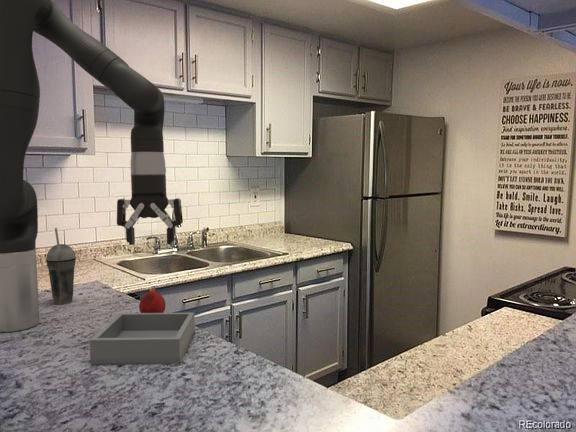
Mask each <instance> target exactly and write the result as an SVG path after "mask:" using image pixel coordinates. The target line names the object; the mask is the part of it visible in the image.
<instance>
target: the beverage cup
mask: <svg viewBox="0 0 576 432" xmlns="http://www.w3.org/2000/svg"><path fill="white" fill-rule="evenodd" d="M54 231H55V232H54V233H55V234H54V235H55V239H56V244H55V245H53V246H51V248H50V249H48V251H47V254H46V258H45V263H46V266H47V269H48V274H49V276H48V277H49V282H50V290H51V295H52V301H53V305H57V306H58V305H60V306H62V305H67V304H72V303H73V297H74V284H75V283H74V282H75V280H74V279H75V266H76V260H77V257H76V252H75V251H74V249H73V248H72V247H71V246H69V245H67V244H65V243H64V244H63V243H61V244H60V238H59V233H58V227H55V228H54Z"/></svg>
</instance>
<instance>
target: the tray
mask: <svg viewBox="0 0 576 432" xmlns="http://www.w3.org/2000/svg"><path fill="white" fill-rule="evenodd" d="M195 325H196V322H195V312H164V313H141V312H122V313H121V312H119V313H118V314H117V315H115V316H114V317H113V318H112V319H111V320H110V321H109V322H108V323H107V324H106V325H104V326H103V328H101V329H100V330H99V331H98V332H97V333H96V334H95V335H93V337H91V338H90V340H89V353H90V354H89V355H90V356H89V357H90V365H131V364H132V365H135V364H136V365H137V364H139V365H140V364H142V365H143V364H148V365H149V364H151V365H153V364H155V365H157V364H181V362H182V360H183V358H184V356H185V354H186V352H187V350H188V348H189V346H190V343H191V341H192V339H193V337H194V335H195V333H196V331H195V330H196V327H195Z"/></svg>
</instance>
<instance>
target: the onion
mask: <svg viewBox="0 0 576 432" xmlns="http://www.w3.org/2000/svg"><path fill="white" fill-rule="evenodd" d="M156 290H157V289H156V288H155V287H154V286H153V287H150V289H149V291H148V292H146V293H145V294H144V295H143V296H142V297H141V300H140V301H139V304H138V307H139V308H138V309H139V313H165V311H166V300H165V299H164V296H162V295H161V294H160V293H159V292H158V291H156Z"/></svg>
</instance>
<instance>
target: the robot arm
mask: <svg viewBox="0 0 576 432" xmlns="http://www.w3.org/2000/svg"><path fill="white" fill-rule="evenodd" d="M33 33H36V34H37V35H39V36H42V37H43V38H45V39H46V40H48V41H49V42H51V43H52V44H54V45H55V46H57V47H58V48H60V50H62V51H63V52H64V53H65V54H67V55H68V56H69V57H70V58H71V59H72V61H74V62H75V63H76V64H77V65H78V66H79V67H80V68H82V70H84V71H85V72H86V73H87V74H88V75H90V76H91V77H92V78H93V79H95V80H96V81H98V82H99V83H100V84H101V85H103V86H104V87H106V88H107V89H108V90H110V91H112V93H114V94H115V95H116V96H117V98H119V99H120V100H121V101H122V102H123V103H125V104H126V106H128V107H129V108H130V109H132V110H133V113H134V114H133V127H132V128H131V130H130V153H131V154H130V183H131V189H130V190H131V197H130V199H125V198H119V199H117V201H116V225H117V226H119V227H120V226H121V227H123V228H124V229H125V236H126V237H125V240H126V243H128V245H130V246H133V245H135V244H136V238H135V237H136V236H135V224H136V223H137V222H138V221H139V219H140V218H141V219H147V218H151V219H157V218H159V219H160V220H161V221H162V222H163V223H164V224H165V225H166V227H167V228H166V244H167V245H172V244H173V242H174V241H175V239H176V237H175V233H176V232H175V228H176V227H178V226H180V225H182V224H183V211H182V209H183V207H182V200H181V198H178V197H177V198H172V199H169V198H168V196H167V177H166V172H167V167H166V160H165V153H164V152H165V149H164V148H165V147H164V146H165V145H164V134H163V131H164V121H165V110H166V109H165V108H166V107H165V99H164V95H163V93H162V91H161V90H160V88H159V87H157V86H156V85H155V84H154V83H153V82H151V81H150V80H148V79H147V78H146V77H145V76H144V75H142V74H140V73H139V72H137V70H135V69H134V68H132V67H130V66H129V64H128V63H127V62H126V61H125V60H124V59H122V58H121V57H120V56H118V55H117V54H116V53H115V52H114V51H113V50H111V49H110V48H109V47H108V46H106V45H105V44H104V43H102V42H101V41H100V40H98V39H96V38H95V37H93V36H92V35H90V34H89V33H87V32H86V31H84V30H83V29H82V28H81V27H79V26H78V25H77V24H75V23H74V22H73V21H72V20H71V19H70V18H69V17H67V16H66V15H65V13H64V12H63V11H62V10H61V9H60V8H59V7H58V6H57V4H55V2H54V1H53V0H0V333H1V332H2V333H3V332H5V333H9V332H10V333H11V332H17V331H22V330H27V329H31V328H33V327H35V326H38V325H39V324H40V307H39V306H40V305H39V302H40V301H39V284H38V283H39V282H38V267H37V248H36V247H37V246H36V244H37V243H36V241H37V237H38V232H39V230H38V229H39V223H38V222H39V218H38V217H39V216H38V215H39V214H38V213H39V212H38V211H39V210H38V199H37V197H38V196H37V194H36V193H37V192H36V191H35V188H34V187H33V186H32V185H31V183H30V182H28V181H27V180H25V179H24V170H25V169H24V165H25V157H26V154H27V151H28V147H29V145H30V143H31V140H32V138H33V135H34V133H35V130H36V127H37V125H38V118H39V113H40V102H41V101H40V99H41V87H40V80H39V75H38V71H37V67H36V61H35V58H34V52H33V35H34V34H33ZM168 205H170V207H171V209H173V211H174V220H173V219H172V218H171V216H170V214H169V213H168V212H167V210H166V209H167V207H168ZM129 206H130V207H132V209H133V212H132V214H131V215H130V216H129V219H128V220H126V217H127V216H126V215H127V213H126V212H127V209H128V208H129Z"/></svg>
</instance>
